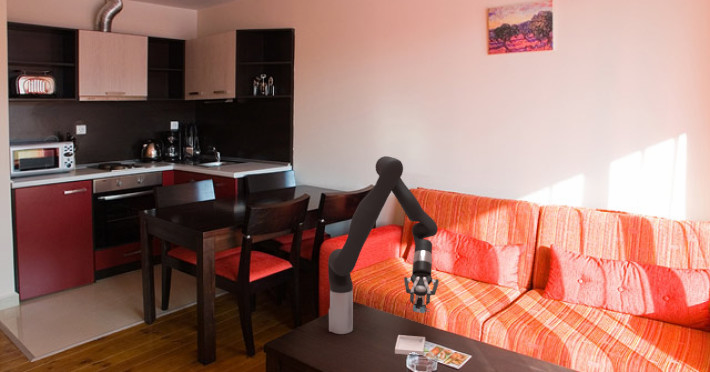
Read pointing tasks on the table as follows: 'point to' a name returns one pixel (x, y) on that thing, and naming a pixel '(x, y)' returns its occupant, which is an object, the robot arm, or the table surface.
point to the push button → (420, 299)
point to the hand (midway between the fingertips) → (419, 303)
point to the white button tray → (410, 345)
